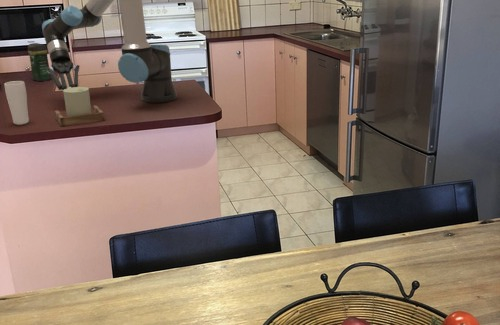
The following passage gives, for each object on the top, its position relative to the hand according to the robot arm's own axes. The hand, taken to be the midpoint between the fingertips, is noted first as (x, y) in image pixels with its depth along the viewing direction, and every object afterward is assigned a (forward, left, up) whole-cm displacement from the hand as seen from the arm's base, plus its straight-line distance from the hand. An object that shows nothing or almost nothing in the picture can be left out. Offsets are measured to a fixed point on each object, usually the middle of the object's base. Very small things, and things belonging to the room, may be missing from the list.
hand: (72, 102), depth 204 cm
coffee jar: (+40, -64, -4) cm, 76 cm away
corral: (-6, +11, -4) cm, 13 cm away
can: (-6, +12, -4) cm, 14 cm away
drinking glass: (+14, +16, -4) cm, 21 cm away
